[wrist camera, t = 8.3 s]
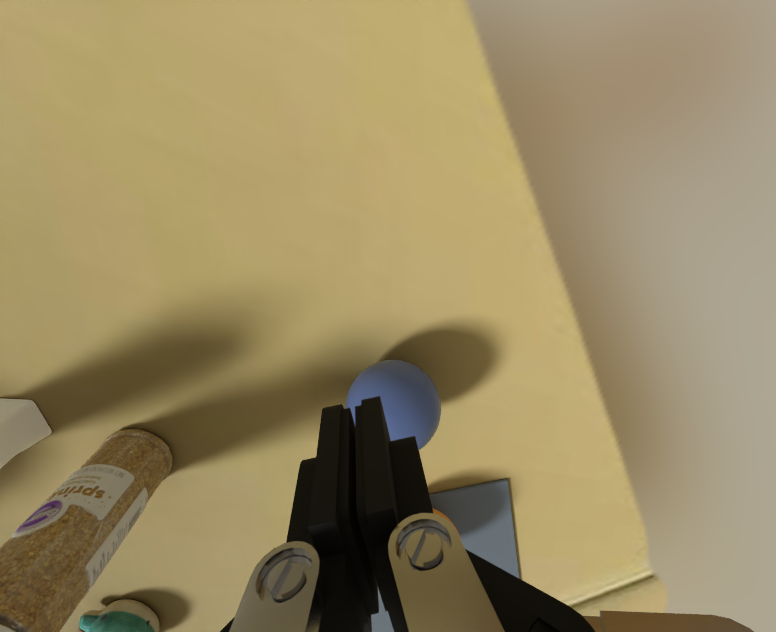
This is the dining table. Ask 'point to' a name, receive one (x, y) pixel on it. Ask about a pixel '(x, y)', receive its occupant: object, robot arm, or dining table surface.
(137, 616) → the whale figurine
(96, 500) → the sprinkles bottle
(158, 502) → the dining table surface
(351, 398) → the blue ball
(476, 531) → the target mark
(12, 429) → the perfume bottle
